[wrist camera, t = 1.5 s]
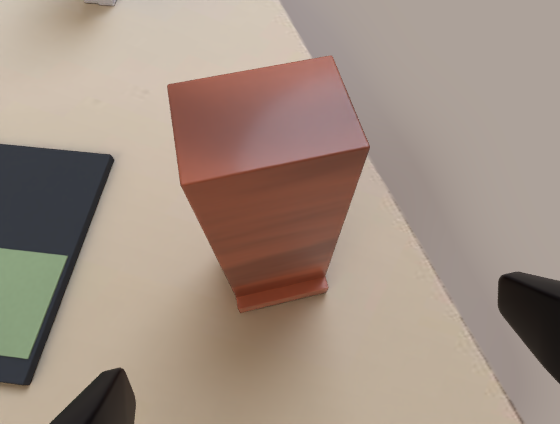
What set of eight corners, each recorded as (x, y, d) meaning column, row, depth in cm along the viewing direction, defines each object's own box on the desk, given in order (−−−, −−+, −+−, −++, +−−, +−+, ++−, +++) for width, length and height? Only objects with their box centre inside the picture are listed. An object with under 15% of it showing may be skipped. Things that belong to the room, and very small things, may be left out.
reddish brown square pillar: (326, 292, 21) (380, 167, 9) (240, 313, 21) (183, 208, 9) (305, 218, 23) (326, 39, 12) (225, 235, 23) (164, 68, 11)
